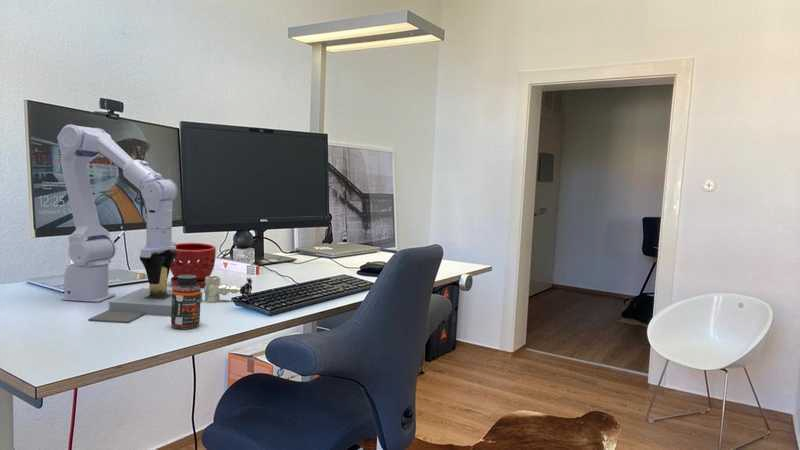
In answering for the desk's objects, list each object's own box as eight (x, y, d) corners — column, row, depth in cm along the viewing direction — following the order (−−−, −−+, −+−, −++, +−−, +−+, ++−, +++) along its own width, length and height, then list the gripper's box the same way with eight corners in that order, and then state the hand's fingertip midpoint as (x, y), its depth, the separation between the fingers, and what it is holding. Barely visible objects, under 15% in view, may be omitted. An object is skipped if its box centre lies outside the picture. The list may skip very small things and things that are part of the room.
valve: (201, 304, 138) (248, 305, 140) (201, 279, 137) (249, 280, 139) (206, 298, 144) (251, 299, 146) (207, 274, 144) (252, 275, 146)
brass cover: (146, 296, 130) (146, 267, 130) (153, 293, 134) (154, 264, 134) (162, 297, 130) (162, 268, 130) (169, 294, 134) (170, 265, 134)
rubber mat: (88, 320, 118) (88, 319, 118) (110, 310, 127) (110, 309, 127) (128, 323, 118) (128, 321, 118) (147, 312, 127) (148, 311, 127)
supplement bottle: (182, 331, 114) (183, 279, 113) (165, 326, 117) (166, 275, 116) (205, 325, 119) (206, 276, 118) (188, 320, 122) (189, 272, 121)
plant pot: (158, 284, 157) (159, 244, 156) (196, 279, 168) (197, 241, 167) (186, 292, 150) (187, 250, 149) (224, 285, 161) (225, 246, 160)
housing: (109, 312, 125) (109, 302, 125) (142, 297, 141) (142, 288, 141) (176, 316, 125) (176, 306, 125) (202, 300, 141) (202, 291, 141)
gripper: (162, 231, 124) (161, 288, 125) (187, 226, 138) (186, 277, 139) (132, 230, 124) (131, 287, 125) (160, 224, 138) (159, 275, 139)
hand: (158, 282), depth 132 cm, fingers closed on brass cover, 4 cm apart
